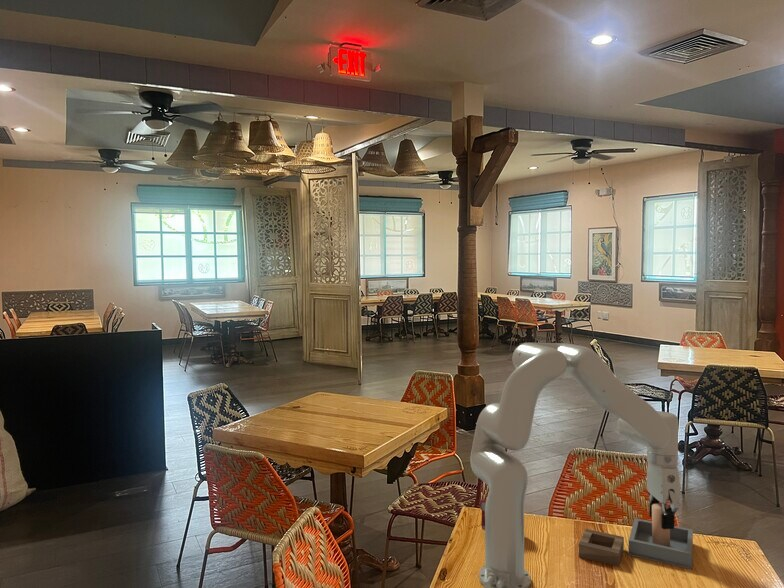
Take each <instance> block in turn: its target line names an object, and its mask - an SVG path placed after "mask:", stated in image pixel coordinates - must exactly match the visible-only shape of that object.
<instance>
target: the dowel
mask: <svg viewBox="0 0 784 588" xmlns="http://www.w3.org/2000/svg"><path fill="white" fill-rule="evenodd" d="M668 508H669V505H666V509H668ZM662 514H663V509H662V504H658V503H657V504H653V505H652V518H651V521H652V543H653V544H658V545H662V546H667V547H670V529H663V528H662V527H661V519H662Z"/></svg>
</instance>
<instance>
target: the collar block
mask: <svg viewBox="0 0 784 588" xmlns="http://www.w3.org/2000/svg"><path fill="white" fill-rule="evenodd" d="M624 537H625V536H621V535H617V534H612V533H607V532H602V531H598V530H594V529H588V528H585V529H584V532H583V534H582V536H581V539H580V541H579V543H578V558H582V559H585V560H590V561H594V562H599V563H602V564H607V565H611V566H614V567H619V566H620V563H621V561H622V557H623V553H624V546H625V544H624V543H625V538H624Z"/></svg>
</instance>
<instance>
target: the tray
mask: <svg viewBox="0 0 784 588" xmlns="http://www.w3.org/2000/svg"><path fill="white" fill-rule="evenodd" d="M693 543H694V529H693V528H686V527H681V526H677V525H674V529H670V547H667V546H662V545H658V544H653V543H652V520H651V521H650V520H645V519H640V518H636V517H635V518H634V520H633V523H632V526H631V530H630V535H629V538H628V552H627V553H628V554H627V555H628V556H633V557H636V558H641V559H645V560H648V561H655V562H659V563H663V564H667V565H673V566H676V567H681V568H683V569H684V568H685V569H689V570H693V552H694V551H693V548H694V545H693ZM692 551H693V552H692Z"/></svg>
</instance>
